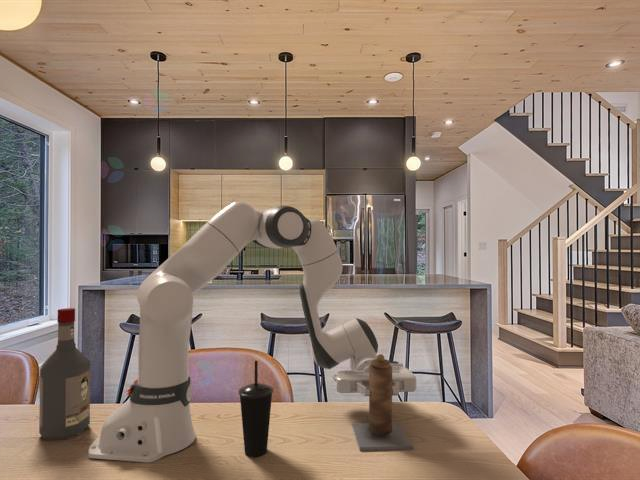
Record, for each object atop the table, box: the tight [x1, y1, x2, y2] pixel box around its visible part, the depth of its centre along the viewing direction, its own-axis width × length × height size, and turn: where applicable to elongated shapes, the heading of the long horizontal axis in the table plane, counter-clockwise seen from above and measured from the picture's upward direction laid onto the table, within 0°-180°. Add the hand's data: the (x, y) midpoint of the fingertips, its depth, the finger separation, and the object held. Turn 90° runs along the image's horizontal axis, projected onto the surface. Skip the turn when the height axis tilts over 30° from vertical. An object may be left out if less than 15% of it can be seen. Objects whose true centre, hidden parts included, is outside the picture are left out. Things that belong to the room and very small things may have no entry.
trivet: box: [351, 422, 414, 452], centre depth 96 cm, size 12×12×1 cm
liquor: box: [38, 307, 91, 440], centre depth 100 cm, size 9×9×30 cm
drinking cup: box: [238, 360, 274, 458], centre depth 90 cm, size 8×8×20 cm
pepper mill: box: [368, 353, 393, 435], centre depth 96 cm, size 5×5×18 cm
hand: (381, 392), depth 96 cm, fingers open, 5 cm apart
